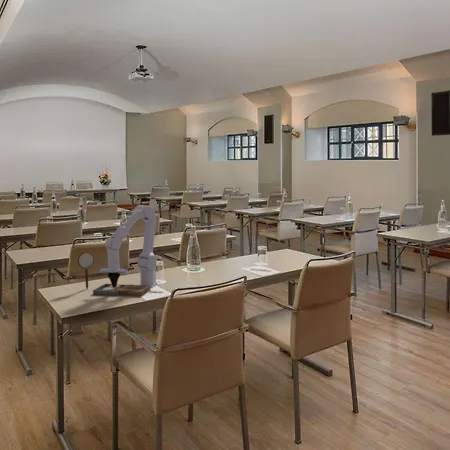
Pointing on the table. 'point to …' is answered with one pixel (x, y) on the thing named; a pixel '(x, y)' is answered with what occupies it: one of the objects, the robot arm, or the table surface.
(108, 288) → the sage tile
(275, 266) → the table surface
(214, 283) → the table surface
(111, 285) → the terracotta tile
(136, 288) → the brown tray
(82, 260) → the magnifying glass
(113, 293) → the box
